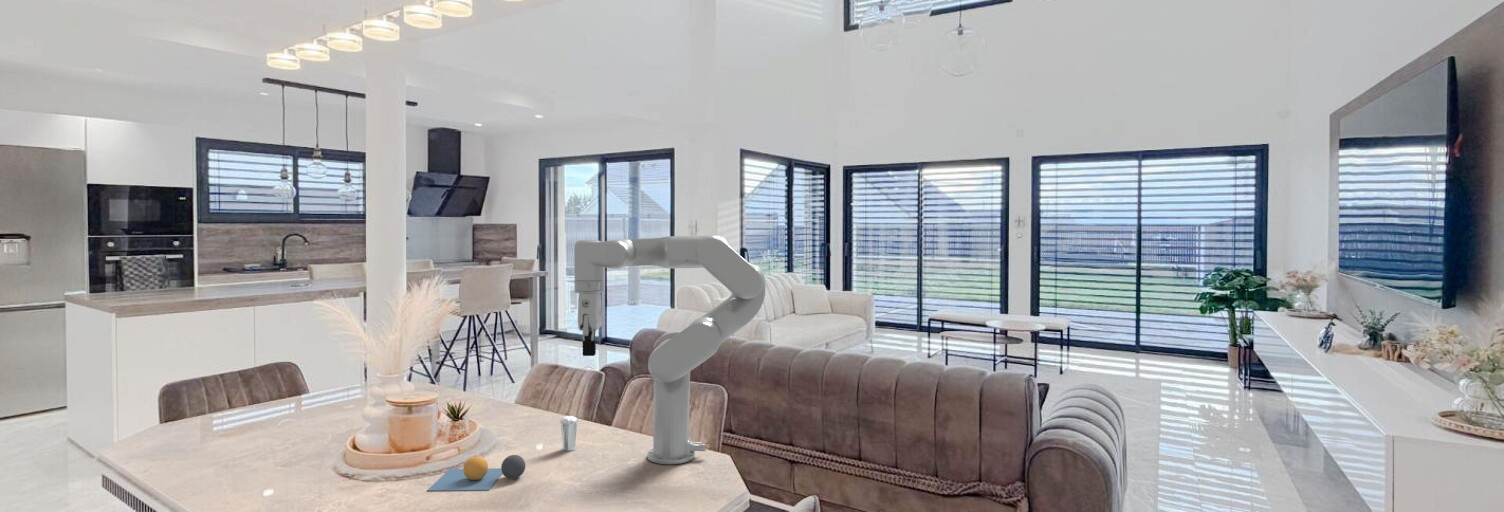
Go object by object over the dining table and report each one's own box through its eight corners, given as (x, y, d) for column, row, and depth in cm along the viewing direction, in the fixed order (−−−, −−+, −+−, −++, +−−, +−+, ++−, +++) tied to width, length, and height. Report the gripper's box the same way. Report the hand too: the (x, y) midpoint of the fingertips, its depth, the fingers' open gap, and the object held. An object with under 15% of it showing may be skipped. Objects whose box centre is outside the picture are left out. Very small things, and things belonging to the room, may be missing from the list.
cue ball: (513, 478, 174) (532, 469, 173) (502, 485, 168) (523, 476, 168) (504, 457, 174) (523, 448, 174) (493, 464, 169) (513, 455, 168)
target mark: (506, 469, 177) (506, 468, 177) (488, 490, 163) (488, 489, 163) (449, 469, 176) (449, 468, 176) (427, 491, 162) (427, 490, 162)
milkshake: (575, 452, 190) (575, 416, 190) (557, 451, 191) (557, 415, 191) (583, 447, 195) (583, 411, 194) (565, 446, 196) (565, 410, 195)
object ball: (463, 459, 172) (474, 479, 173) (455, 467, 167) (467, 488, 167) (484, 449, 172) (495, 468, 173) (476, 456, 167) (488, 477, 167)
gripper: (598, 289, 179) (598, 361, 180) (607, 284, 194) (607, 350, 195) (569, 289, 178) (569, 361, 179) (580, 284, 193) (580, 350, 194)
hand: (589, 355), depth 187 cm, fingers closed
